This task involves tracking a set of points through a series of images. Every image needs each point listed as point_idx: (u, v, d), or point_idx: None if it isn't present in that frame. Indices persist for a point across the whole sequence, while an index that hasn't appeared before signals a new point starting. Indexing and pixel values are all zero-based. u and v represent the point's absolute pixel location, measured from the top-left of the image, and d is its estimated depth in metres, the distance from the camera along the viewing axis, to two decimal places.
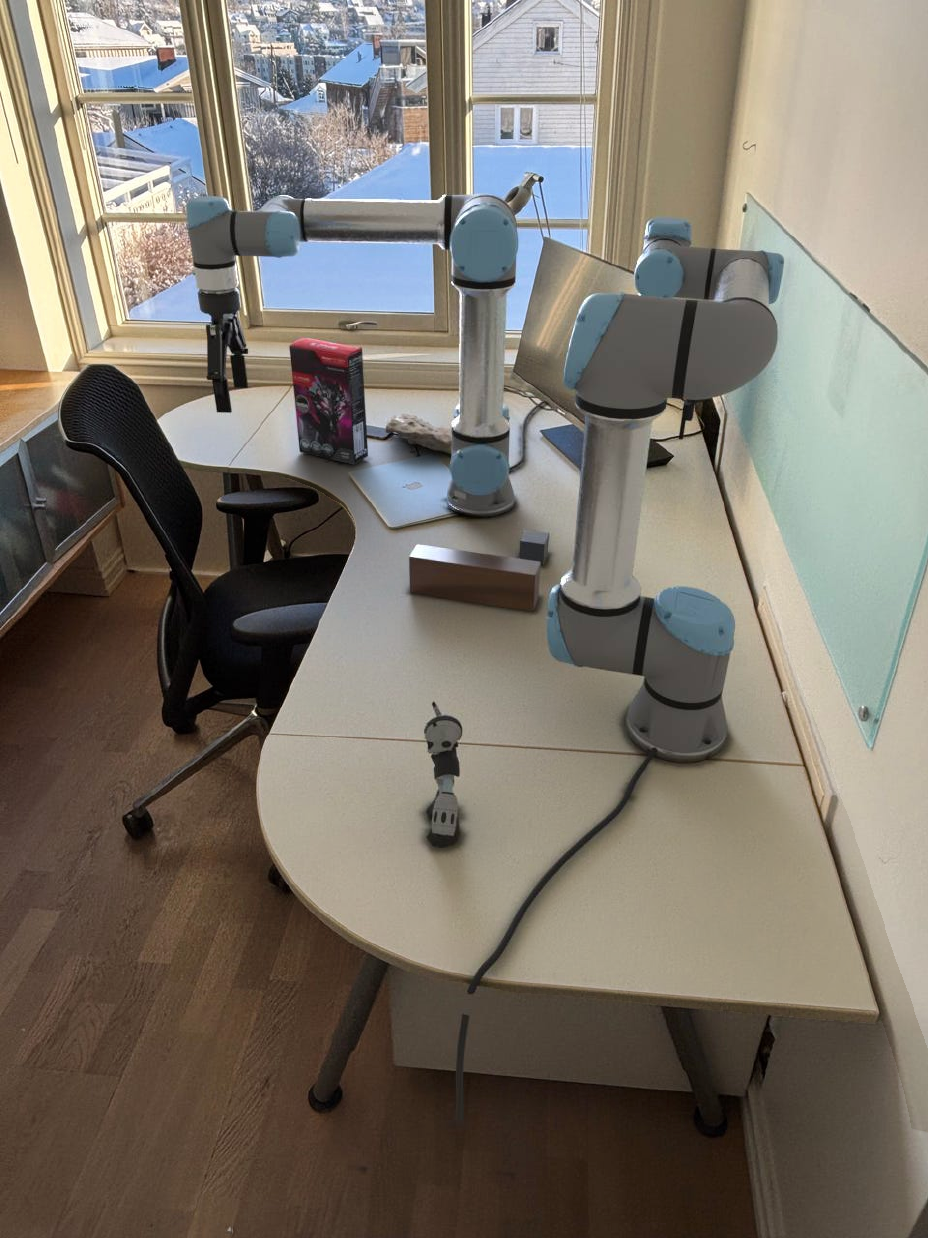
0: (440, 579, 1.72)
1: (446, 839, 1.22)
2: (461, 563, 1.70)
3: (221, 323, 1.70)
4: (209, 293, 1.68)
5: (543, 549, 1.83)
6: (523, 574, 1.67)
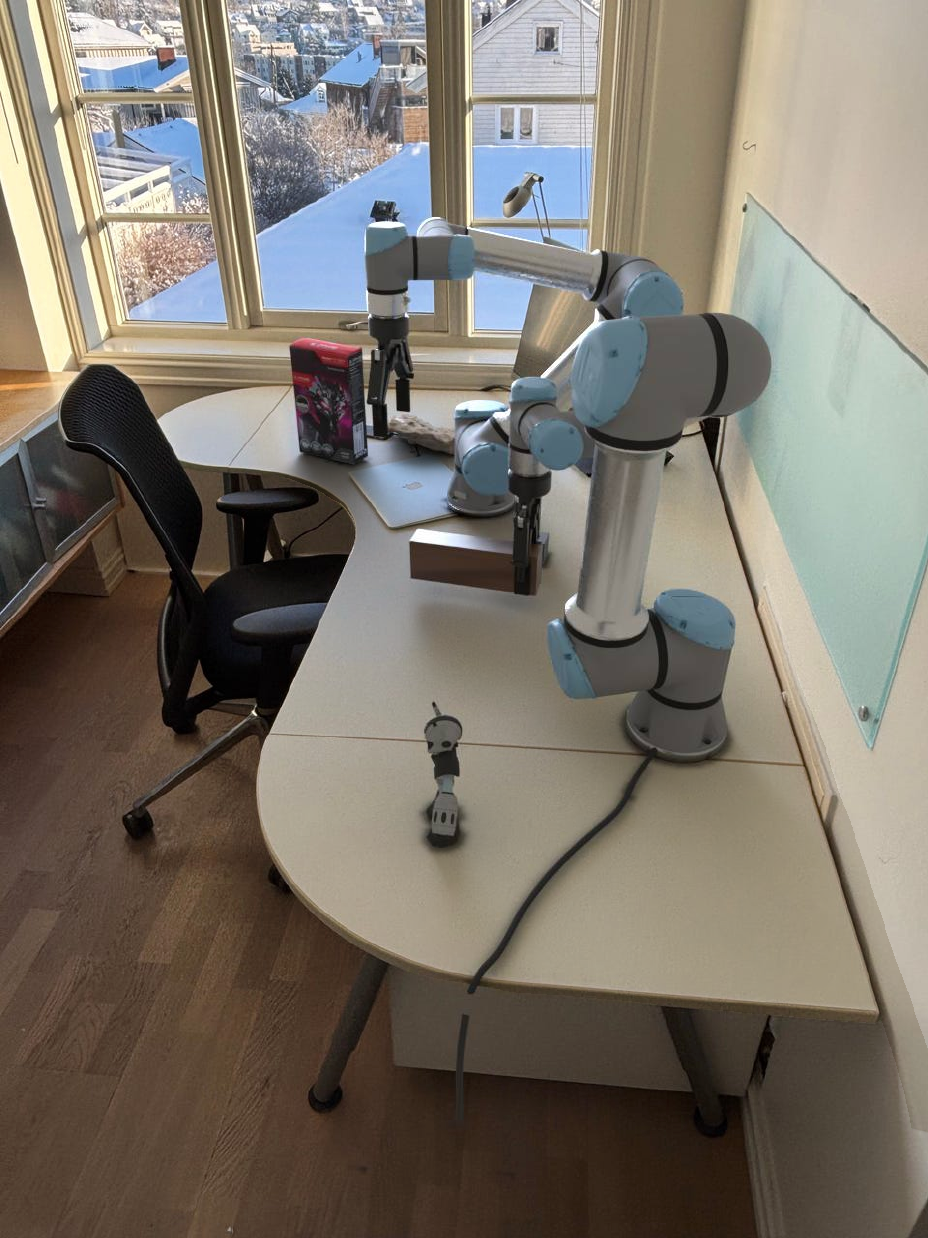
0: (441, 563, 1.70)
1: (446, 839, 1.22)
2: (462, 546, 1.67)
3: None
4: None
5: (543, 549, 1.83)
6: None
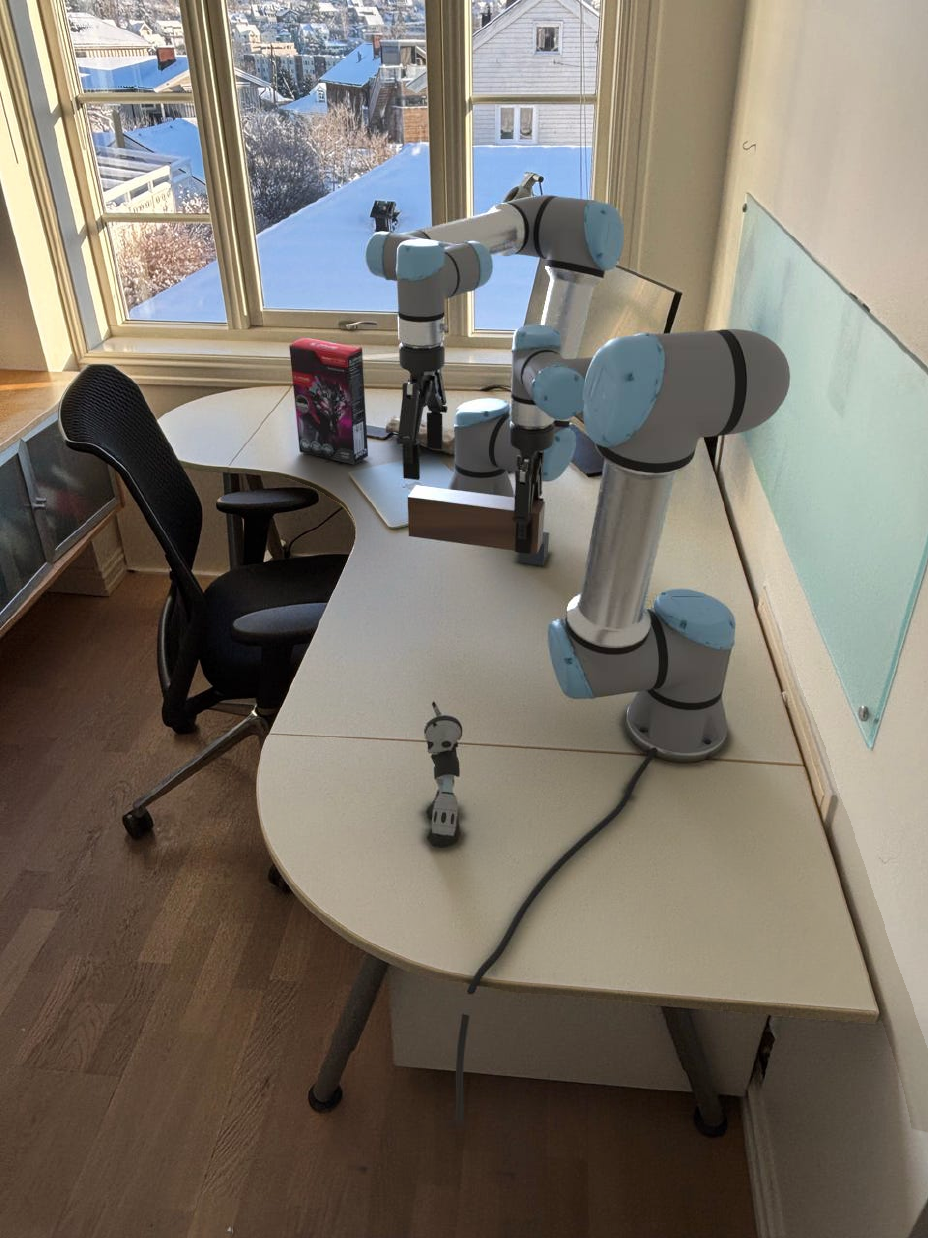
0: (440, 520, 1.65)
1: (446, 839, 1.22)
2: (462, 502, 1.63)
3: None
4: None
5: (543, 549, 1.83)
6: None
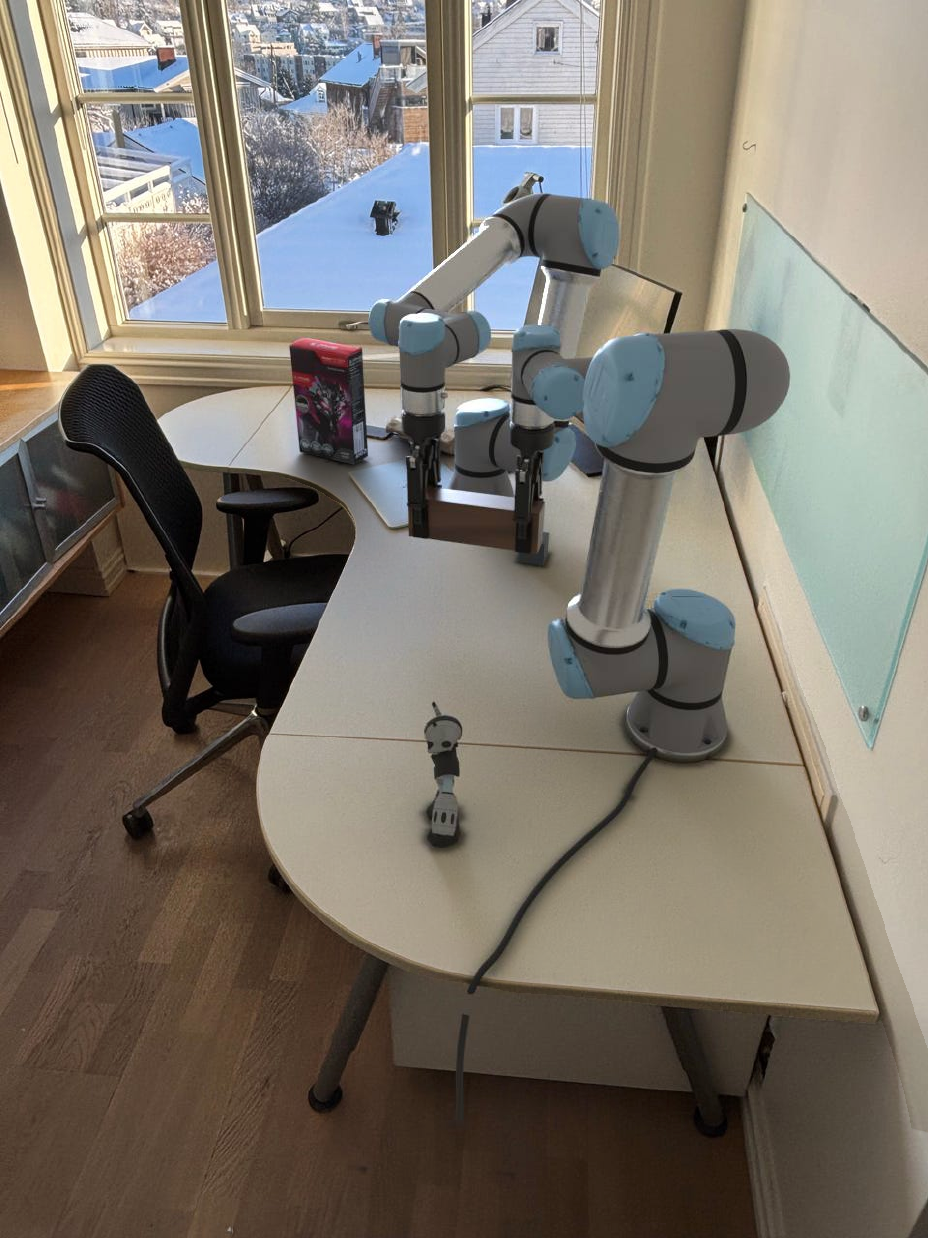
0: (440, 520, 1.65)
1: (446, 839, 1.22)
2: (462, 502, 1.63)
3: None
4: None
5: (543, 549, 1.83)
6: None
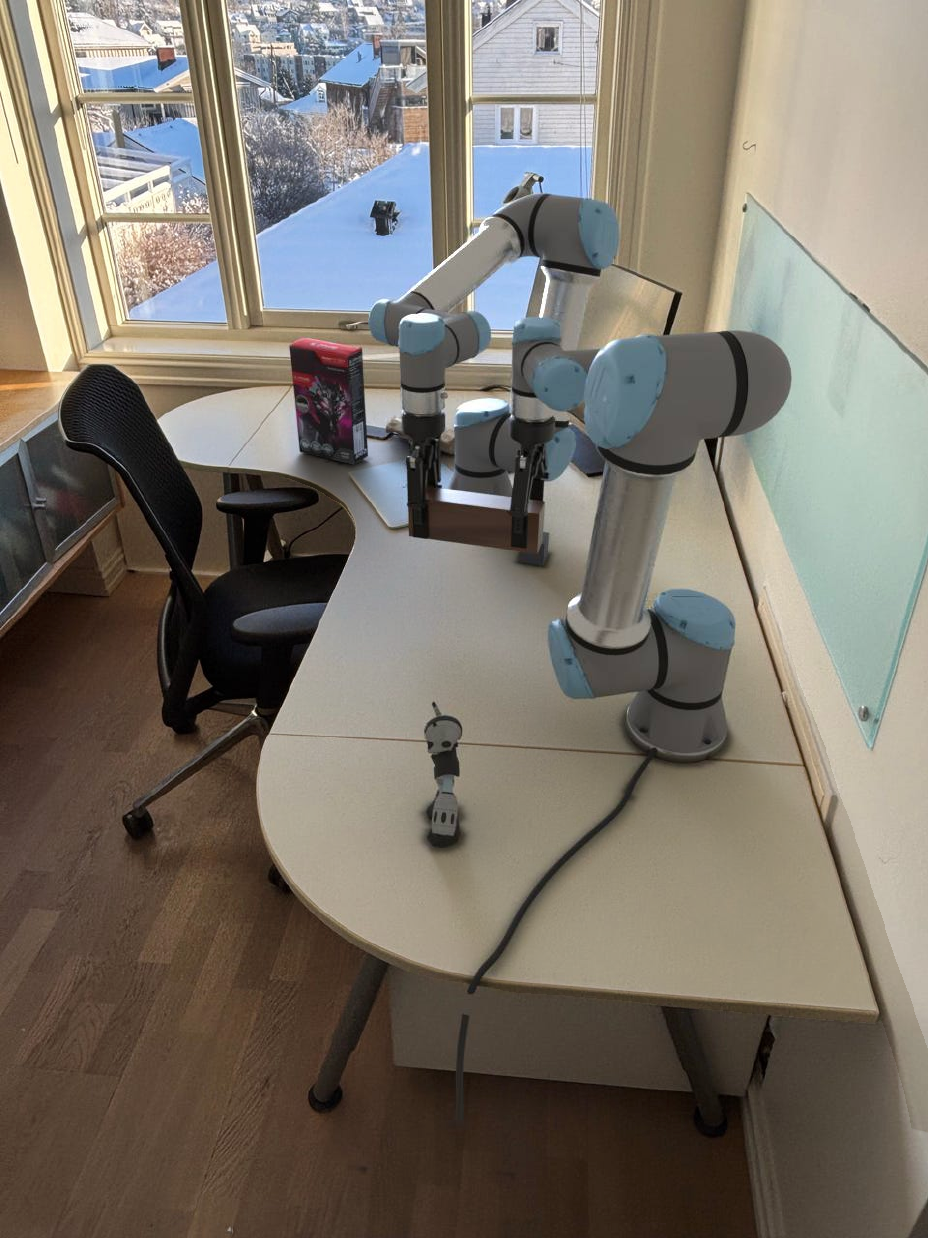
0: (440, 520, 1.65)
1: (446, 839, 1.22)
2: (462, 502, 1.63)
3: None
4: None
5: (543, 549, 1.83)
6: None
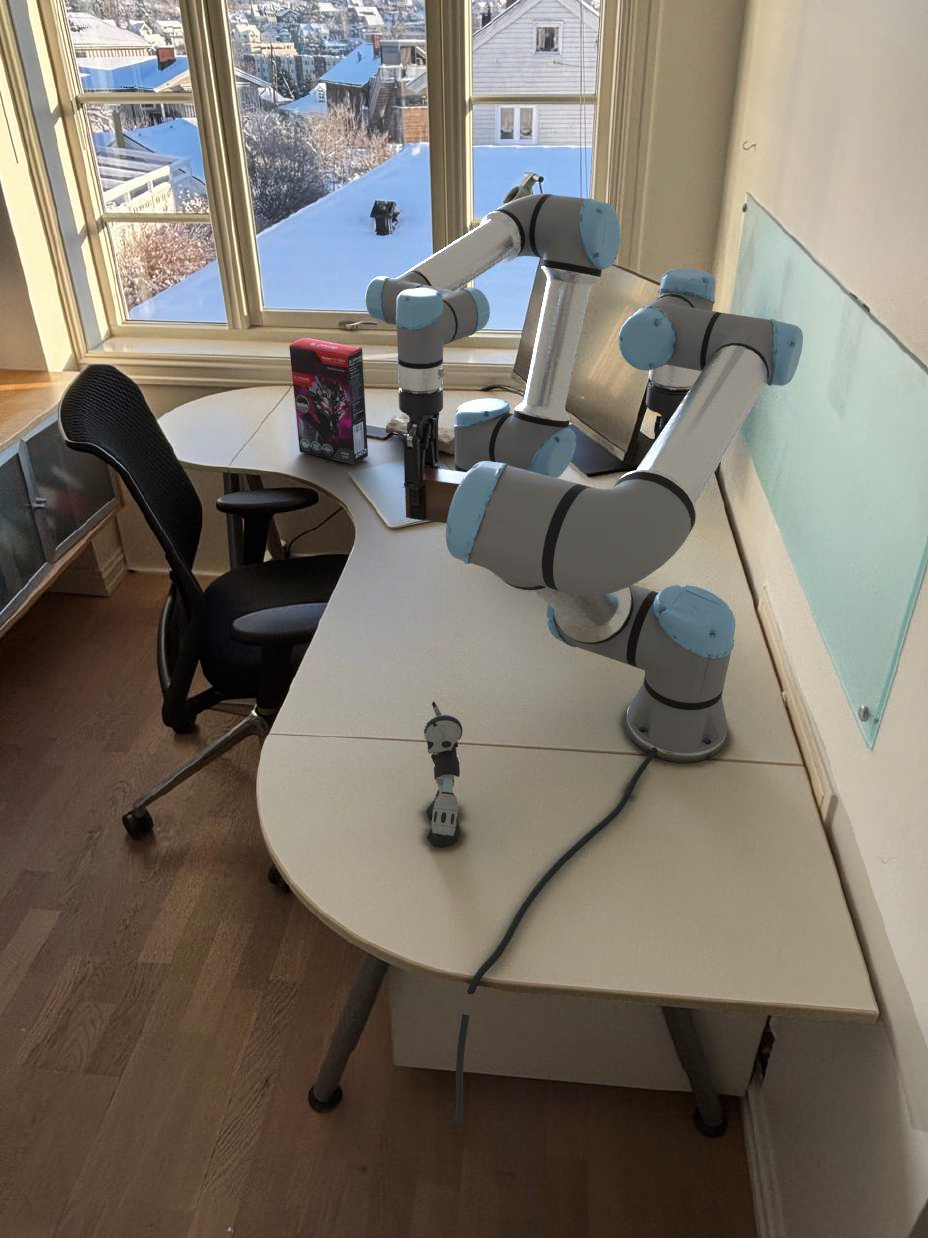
0: (438, 501, 1.62)
1: (446, 839, 1.22)
2: None
3: None
4: None
5: None
6: None
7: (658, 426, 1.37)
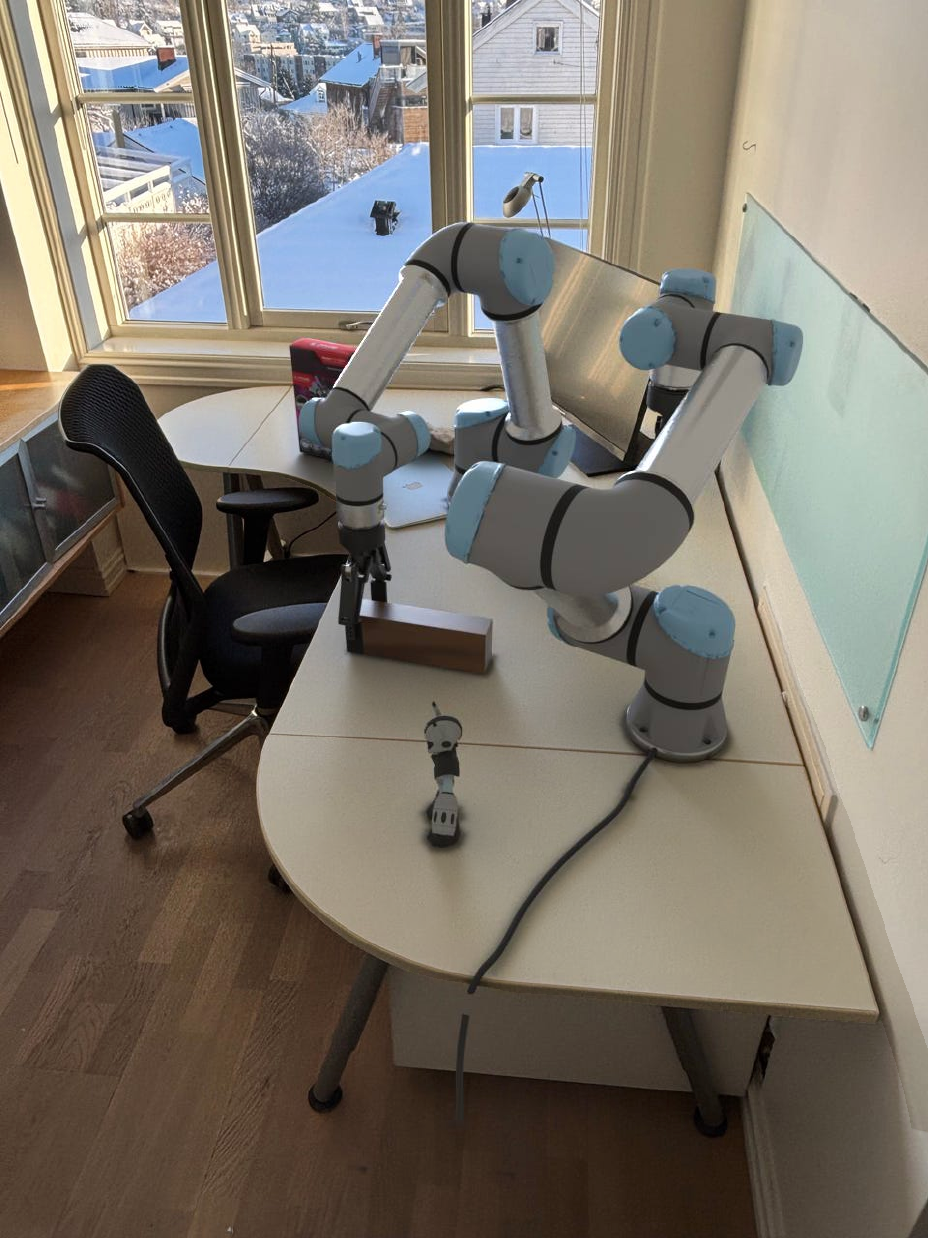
0: (383, 637, 1.56)
1: (446, 839, 1.22)
2: (405, 620, 1.54)
3: None
4: None
5: None
6: (472, 633, 1.51)
7: (659, 426, 1.37)
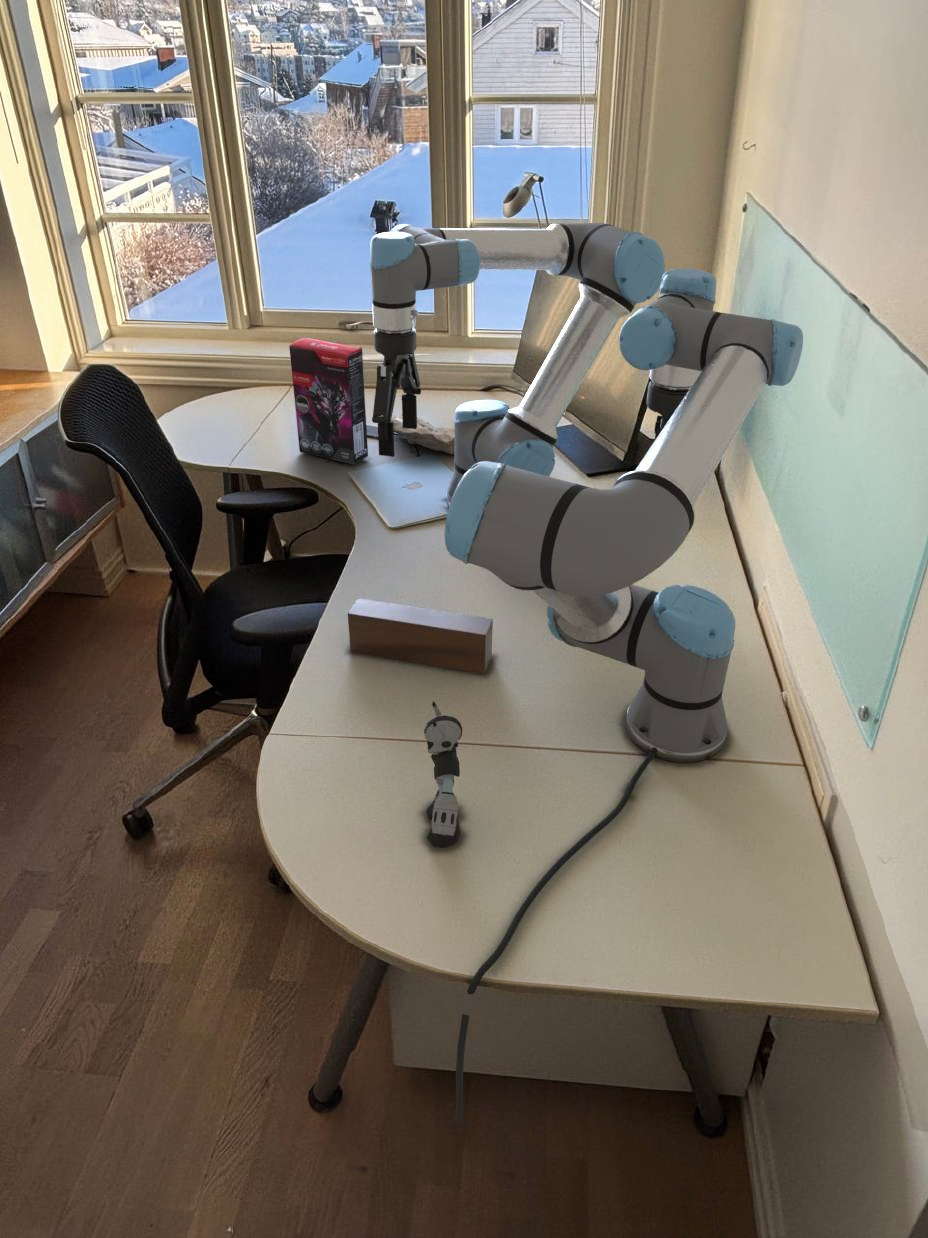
0: (383, 637, 1.56)
1: (446, 839, 1.22)
2: (405, 620, 1.54)
3: None
4: None
5: None
6: (472, 633, 1.51)
7: (659, 426, 1.37)
